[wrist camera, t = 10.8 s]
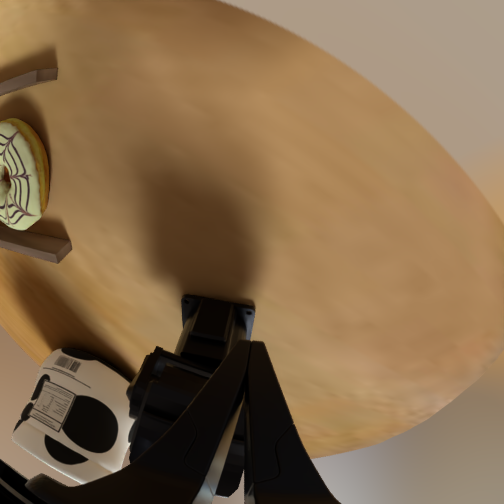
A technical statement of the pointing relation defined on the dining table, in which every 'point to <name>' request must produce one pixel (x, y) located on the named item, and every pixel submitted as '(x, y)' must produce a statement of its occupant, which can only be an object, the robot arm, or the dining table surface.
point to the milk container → (77, 416)
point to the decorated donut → (22, 175)
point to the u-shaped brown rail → (23, 240)
